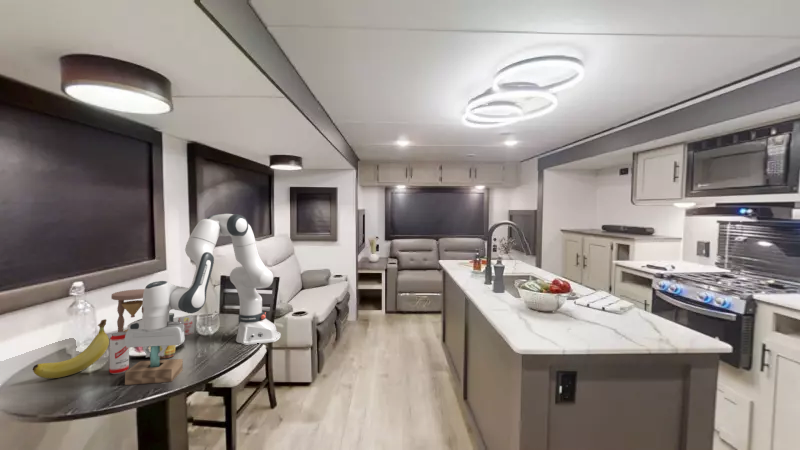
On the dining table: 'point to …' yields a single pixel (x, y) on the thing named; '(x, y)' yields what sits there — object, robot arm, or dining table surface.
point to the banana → (76, 358)
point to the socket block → (154, 372)
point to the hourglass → (128, 304)
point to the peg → (154, 356)
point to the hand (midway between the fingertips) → (155, 356)
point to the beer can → (118, 354)
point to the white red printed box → (187, 324)
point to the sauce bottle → (171, 348)
